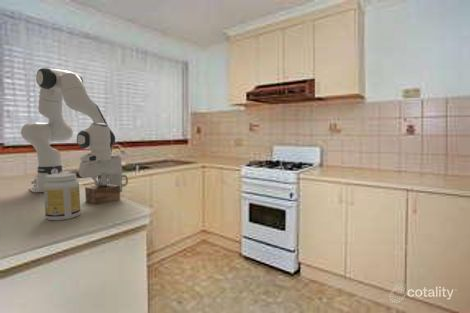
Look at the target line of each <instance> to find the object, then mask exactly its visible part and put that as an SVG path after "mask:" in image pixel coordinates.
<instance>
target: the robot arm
mask: <svg viewBox="0 0 470 313" xmlns="http://www.w3.org/2000/svg"><path fill="white" fill-rule="evenodd" d="M35 76H36V77H35V80H36V84H37V85H38V86H39V87H40V89H39V95H38V108H37V110H38V113H39V114H40V115H41V116H43V117H45V118H47V119H48V122H29V123H24V125H23V126H22V127H21V130H20V134H21V137H22V138H23V140H25V141H26V142H28V143H29V144H30V145H31V146H33V148H34V149H35V151H36V155H37V161H38V162H37V163H38V166H37V174H36V175H35V176H34V178H33V179H31V183H30V184H32V185H33V186H29V190H30V191H31V192H32V193H44V184H45V183H46V182H47V181H46V180H45V179H46V176H47V175H51V174H59V173H63V166H62V158H61V155H62V154H61V151H59V149H56V148H54V147H52V146H51V145H50V143H56V142H57V143H58V142H59V143H60V142H67V141H69V140H70V139H71V138H72V137H73V135H74V134H73V133H74V131H73V129H72V126H71V125H69V124H68V123H67V122H66V120H65V119H64V118H63V101H64V103H65V105H66V106H67V107H68V108H69V109H71V110H73V111H75V112H78V113H81V114H84V115H86V116H87V117H89V118H90V119H91V120H92V121H93V122H92V123H90V126H88V127H86V129H82V130H80V131H79V132H78V133H77V135H76V143H77V146H79V147H80V148H81V149H83V150H90V152H89V153H86V154H84V155H82V156H80V161H81V162H80V163H79V167H78V169H79V170H78V174H79V177H81V178H84V179H85V178H91V179H92V180H93V182H94V186H96V185H99V181H98V176H101V175H102V173H106V175H107V176H108V178H107V184H109V183H110V179H111V177H112V174H117V173H121V174H122V172H123V166H122V157H121V156H120V155H112V150H111V148H112V147H113V146H114V145H115V143H116V135H115V133H114V132H113V131H112V130H111V128H110V127H109V124H108V123H107V121H106V119H105V117H104V115H103V113H102V111H101V109H100V108H99V106H98V105H97V104H96V103H95V102H94V101H93V100H92V98H91V97H90V96H89V95H88V92H87V90H86V87H85V85H84V79H83V77H82V75H81V74H80V73H77V72H75V71H70V70H66V69H65V70H64V69H56V68H48V67H44V68H40V69H38V70H37V71H36V75H35Z"/></svg>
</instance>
